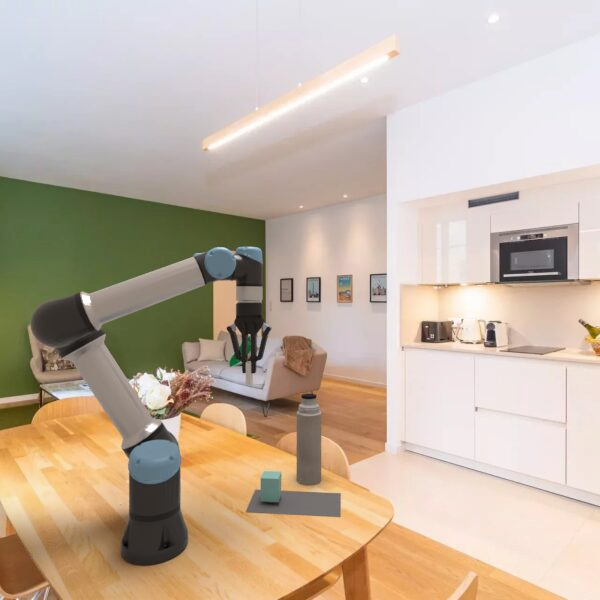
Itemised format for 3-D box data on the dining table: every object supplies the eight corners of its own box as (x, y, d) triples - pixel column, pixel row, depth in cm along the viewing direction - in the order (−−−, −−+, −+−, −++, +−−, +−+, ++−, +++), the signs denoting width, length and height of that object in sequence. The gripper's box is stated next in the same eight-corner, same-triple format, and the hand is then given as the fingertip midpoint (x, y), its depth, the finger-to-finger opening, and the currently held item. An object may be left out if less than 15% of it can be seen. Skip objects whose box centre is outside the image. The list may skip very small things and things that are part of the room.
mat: (340, 518, 115) (340, 517, 115) (245, 513, 118) (245, 512, 118) (340, 494, 129) (340, 493, 129) (255, 490, 132) (255, 489, 132)
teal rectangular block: (278, 502, 121) (278, 478, 121) (260, 501, 122) (260, 478, 122) (281, 493, 126) (281, 471, 126) (263, 493, 127) (263, 470, 127)
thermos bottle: (307, 474, 144) (308, 390, 144) (326, 481, 139) (326, 394, 138) (291, 481, 138) (291, 394, 138) (309, 489, 133) (310, 398, 133)
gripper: (274, 301, 125) (273, 382, 126) (230, 301, 127) (230, 381, 127) (269, 302, 118) (269, 387, 118) (223, 301, 119) (223, 386, 119)
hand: (249, 384), depth 122 cm, fingers closed
